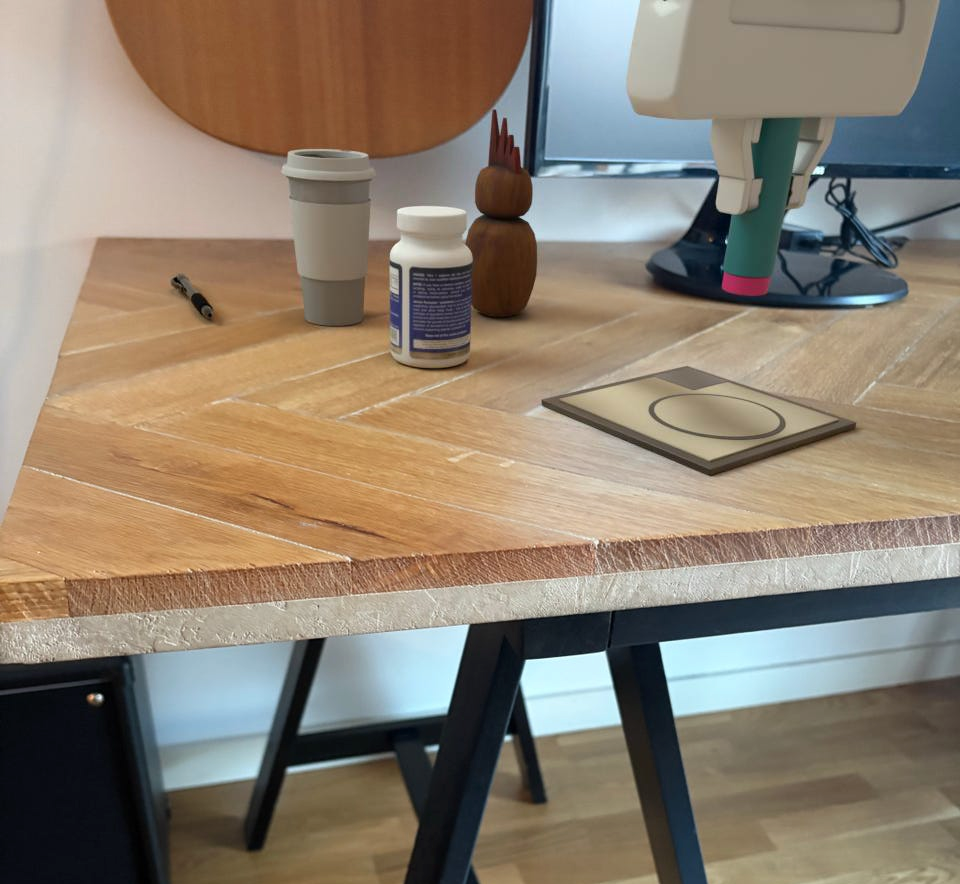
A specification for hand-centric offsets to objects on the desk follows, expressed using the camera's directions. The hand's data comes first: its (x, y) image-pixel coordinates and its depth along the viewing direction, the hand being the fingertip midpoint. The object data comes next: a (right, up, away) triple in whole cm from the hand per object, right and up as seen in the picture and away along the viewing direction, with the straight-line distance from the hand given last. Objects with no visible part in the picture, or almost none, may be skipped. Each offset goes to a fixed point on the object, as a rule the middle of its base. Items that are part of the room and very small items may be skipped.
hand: (760, 210), depth 55 cm
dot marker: (0, -4, +2) cm, 4 cm away
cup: (-27, +2, +25) cm, 37 cm away
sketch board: (-2, -10, +8) cm, 13 cm away
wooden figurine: (-14, +4, +29) cm, 33 cm away
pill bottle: (-19, -4, +17) cm, 26 cm away
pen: (-39, +4, +27) cm, 48 cm away
